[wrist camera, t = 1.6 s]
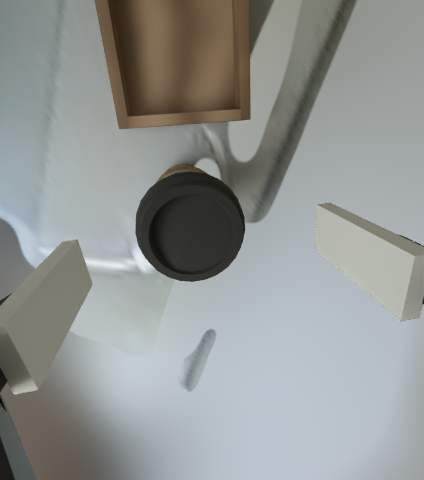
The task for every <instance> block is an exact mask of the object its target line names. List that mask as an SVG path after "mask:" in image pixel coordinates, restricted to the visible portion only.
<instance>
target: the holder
mask: <svg viewBox="0 0 424 480" xmlns="http://www.w3.org/2000/svg"><path fill="white" fill-rule="evenodd" d="M95 4H96V9H97V14H98V19H99V25H100V30H101V35H102V41H103V46H104V51H105V57H106V62H107V67H108V72H109V78H110V83H111V88H112V94H113V99H114V104H115V109H116V115H117V120H118V125H119V129H128V128H142V127H156V126H170V125H184V124H198V123H211V122H225V121H239V120H249V119H250V18H249V0H95Z"/></svg>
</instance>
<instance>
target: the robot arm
mask: <svg viewBox="0 0 424 480" xmlns="http://www.w3.org/2000/svg"><path fill="white" fill-rule="evenodd" d="M315 249H316V250H317V251H318V252H319V253H320V254H322V255H323V256H324V257H325V258H326V259H328V260H329V261H330V262H331V263H332V264H333V265H335V266H336V267H337V268H338V269H339V270H341V271H342V272H343V273H344V274H345V275H346V276H348V277H349V278H350V279H351V280H352V281H354V282H355V283H356V284H357V285H358V286H360V287H361V288H362V289H363V290H364V291H365V292H366V293H368V294H369V295H370V296H371V297H372V298H374V299H375V300H376V301H377V302H378V303H379V304H381V305H382V306H383V307H384V308H385V309H387V310H388V311H389V312H390V313H391V314H392V315H394V316H395V317H396V318H397V319H398V320H400V321H406V320H411V319H416V318H419V317H420V314H421V309H422V305H423V304H424V246H421V244H419V243H417V242H413V241H412V240H410V239H408V238H406V237H404V236H401V235H397V234H395V233H393V232H391V231H388V230H386V229H384V228H382V227H380V226H378V225H376V224H374V223H372V222H369V221H368V220H365V219H363V218H361V217H359V216H357V215H355V214H353V213H351V212H348V211H346V210H344V209H342V208H340V207H338V206H336V205H333V204H332V203H325V204H318V205H317V216H316V235H315ZM91 286H92V281H91V278H90V275H89V272H88V269H87V266H86V263H85V260H84V257H83V254H82V251H81V248H80V245H79V242H78V240H72V241H65V242H62V243H61V244H60V245H59V246H58V247H57V248H56V249H55V250H54V251H53V252H52V253H51V254H50V255H49V256H48V257H47V258H46V259H45V260H44V261H43V262H42V263H41V264H40V265H39V267H38V268H37V269H36V270H35V271H34V272H33V273H32V274H31V275H30V276H29V277H28V278H27V279H26V280H25V281H24V282H23V283H22V284H21V285H20V286H19V287H18V288H17V289H16V290H15V291H14V292H13V293H11V294H10V295H9V296H7V297H5V298H4V299H2V300H1V301H0V392H1V390H2V389H3V387H4V386H5V384H6V382H7V383H8V384H9V386H10V388H11V389H12V391H13V393H14V394H19V393H25V392H30V391H35V390H38V389H39V387H40V385H41V383H42V382H43V379H44V378H45V376H46V374H47V372H48V370H49V368H50V366H51V364H52V362H53V360H54V358H55V356H56V354H57V352H58V350H59V349H60V347H61V345H62V343H63V341H64V339H65V337H66V335H67V333H68V331H69V329H70V327H71V325H72V323H73V321H74V319H75V317H76V316H77V314H78V312H79V310H80V308H81V306H82V304H83V302H84V300H85V298H86V296H87V294H88V292H89V290H90V288H91ZM0 480H36V477H35V475H34V472H33V470H32V467H31V465H30V463H29V460H28V457H27V455H26V453H25V450H24V448H23V445H22V443H21V440H20V438H19V436H18V433H17V430H16V428H15V426H14V423H13V421H12V418H11V416H10V413H9V411H8V409H7V406H6V404H5V401H4V399H3V398H2V396H1V394H0Z"/></svg>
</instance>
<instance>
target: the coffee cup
mask: <svg viewBox="0 0 424 480" xmlns="http://www.w3.org/2000/svg"><path fill="white" fill-rule="evenodd" d="M244 233H245V221H244V215H243V212H242V209H241V206H240V204H239V201H238V199H237V197H236V196H235V195H234V193H233V192H232V190H231V189H230V188H229V187H228V186H227V185H225V184H224V183H223V182H222V181H220V180H219V179H217V178H215V177H213V176H210V175H209V174H207V173H206V172H204V171H202V170H201V169H199V168H196V167H194V166H191V165H177V166H174V167H172V168H170V169H169V170H167V171H166V172H165V173H164V174H163V175H162V176H161V177H160V178H159V180H158V181H157V182H156V184H155V185H153V186H152V187H151V188H150V189H149V190H148V191H147V193H146V194H145V196H144V197H143V198H142V200H141V202H140V205H139V208H138V211H137V213H136V237H137V241H138V245H139V247H140V249H141V251H142V253H143V255H144V256H145V258H146V259H147V260H148V261H149V263H150V264H151V265H152V266H153V267H154V268H155V269H156V270H157V271H159V272H161V273H162V274H164V275H166V276H167V277H169V278H173V279H176V280H179V281H191V282H194V281H200V280H205V279H208V278H210V277H213V276H215V275H217V274H219V273H220V272H222V271H223V270H225V269H226V268H227V267H228V266H229V265H230V264H231V263H232V261H233V260H234V259H235V258H236V256H237V254H238V252H239V250H240V248H241V244H242V242H243V237H244Z"/></svg>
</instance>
